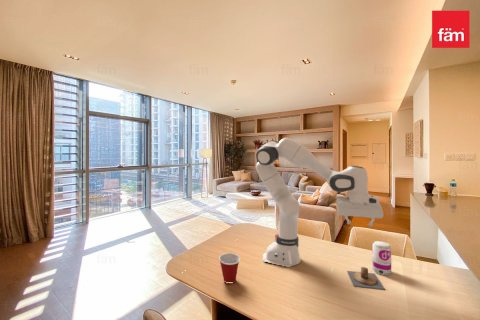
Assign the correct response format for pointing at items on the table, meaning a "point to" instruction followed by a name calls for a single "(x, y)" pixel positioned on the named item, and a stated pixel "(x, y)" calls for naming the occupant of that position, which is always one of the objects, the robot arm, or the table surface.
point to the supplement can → (381, 257)
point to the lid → (364, 277)
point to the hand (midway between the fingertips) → (359, 225)
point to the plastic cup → (229, 266)
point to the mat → (357, 284)
